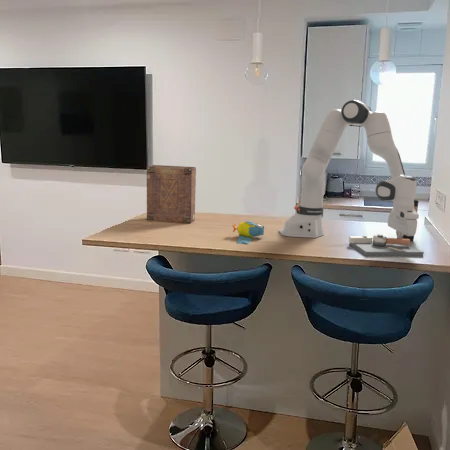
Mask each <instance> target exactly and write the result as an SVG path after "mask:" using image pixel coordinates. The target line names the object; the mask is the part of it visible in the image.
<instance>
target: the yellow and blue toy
mask: <svg viewBox="0 0 450 450" xmlns="http://www.w3.org/2000/svg"><path fill="white" fill-rule="evenodd" d="M232 228H233V230H232V233H234V232H235V231H236V230H237V234H238V238H237V241H236V244H237V245H238V244H239V245H250V244H251V242H252V238H253V237H258V236H259V237H260V236H263V235H264V233H265V225H262V224H260V223H255V222H253V221H250V220H245V221H243V222H240V223H239V224H238V225H236V223H235V222H233V224H232Z"/></svg>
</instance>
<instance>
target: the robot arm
mask: <svg viewBox="0 0 450 450" xmlns="http://www.w3.org/2000/svg"><path fill="white" fill-rule="evenodd" d="M390 125H391V124H390V121H389V118H388V116H387V114H386V113H385V112H384V111H380V110H375V111H373V110H372V109H371V107H370V106H368V104H366V103H365V102H363V101H360V100H358V99H357V100H356V99H352V100H348V101H347V102H345V103H344V104H343V105H342V107H341V109H339V108H333V109H331V110H330V111H329V112H328V113H327V115H326V116H325V117H324V119H323V121H322V123H321V126H320V127H319V129H318V132H317V133H316V135H315V136H316V137H315V139H314V141H313V143H312V146H311V148H310V150H309V152H308V155H307V157H306V160H305V161H304V162H303V164H302V169H301V195H300V205H294V206H293V209H294V210H295V211H296V213H294V214H293V215H291V216H290V217H288V218H287V219H286V220H285V222H284V225H283V228H280V229H279V230H278V231H279V234H280V235H282V236H284V237H293V238H295V237H296V238H318V237H321V236H322V237H323V236H324V235H325V234H324V228H323V217H324V207H323V206H324V205H323V204H324V203H323V202H324V194H325V193H324V192H325V191H324V190H325V177H326V176H325V175H326V170H327V168H328V166H329V164H330V161H331V159H332V157H333V155H334V153H335V150H336V149H337V146H338V144H339V142H340V140H341V137H342V136H343V134H344V132H345V129H346V128H347V127H348V126H349V127H363V128H364V130H365V136H366V141H367V146H368V148H369V150H370V152H371V153H373V154H374V155H375V156H378V157H380V158H382V159H383V160H384V161H385V162H386V163H387V166H388V169H389V174H390V177H391V179H385V180H381V181H379V182H378V183H377V185H376V187H375V195H376V197H377V198H378V199H379V200H380V201H383V202H393V204H392V209H391V210H390V212H389V214H388V218H387V227H389V228H391V229H393V230H395V233H396V234H395V235H396V238H399V239H402V237H403V236H404V235H406V236H414V237H415V235H416V233H417V227H418V219H419V213H418V211H417V212H416V211H415V209H414V200H416V199H415V198H416V194H417V180H416V178H415V177H414V176H412V175H409V174H406V173H405V169H404V166H403V162H402V158H401V155H400V153H399V150H398V148H397V147H396V145H395V141H394V139H393V134H392V129H391V126H390Z"/></svg>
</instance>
